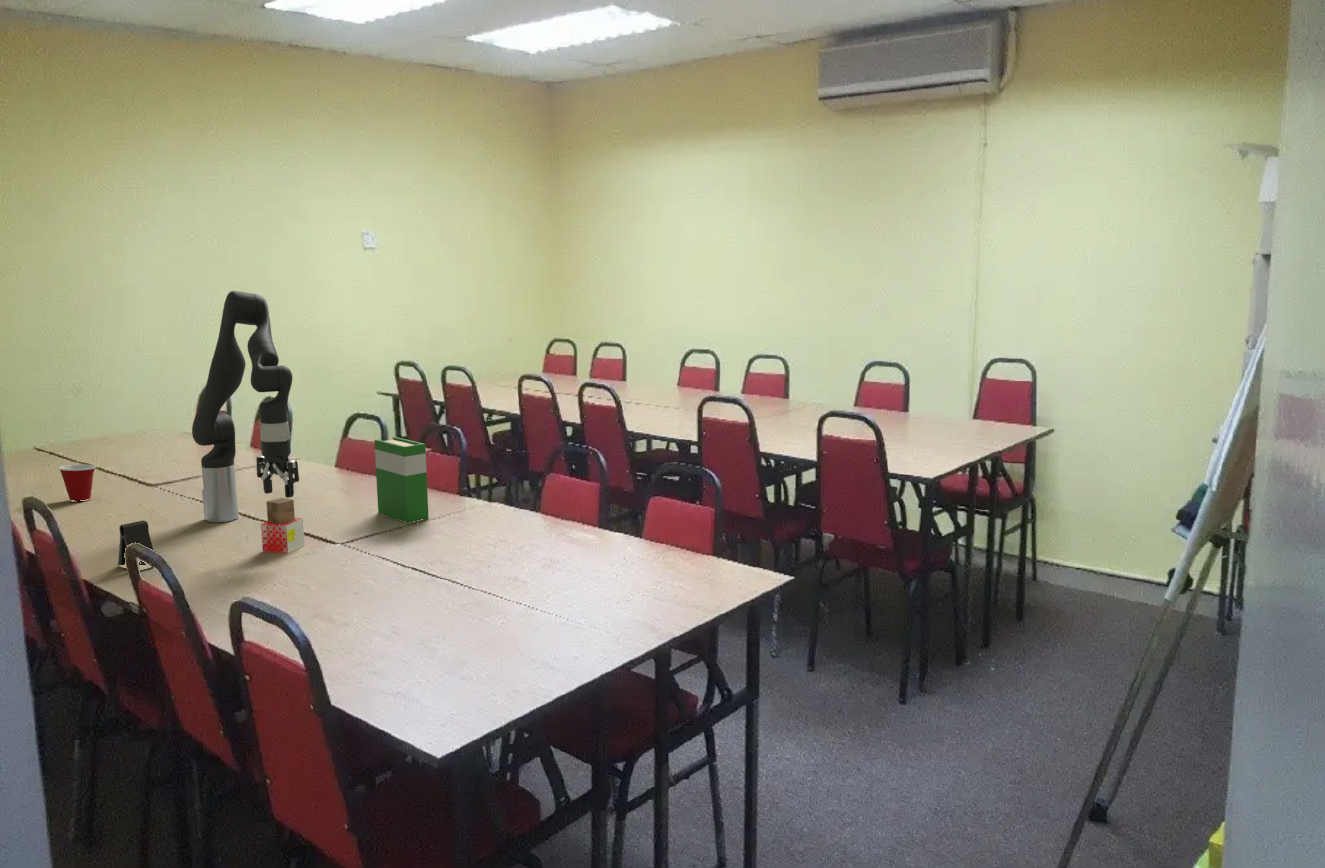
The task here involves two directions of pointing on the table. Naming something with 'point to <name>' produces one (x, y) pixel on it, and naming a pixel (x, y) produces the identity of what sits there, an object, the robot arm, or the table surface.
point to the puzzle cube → (282, 536)
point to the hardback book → (401, 479)
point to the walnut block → (280, 510)
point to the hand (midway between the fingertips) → (278, 495)
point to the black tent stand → (133, 537)
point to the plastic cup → (78, 480)
